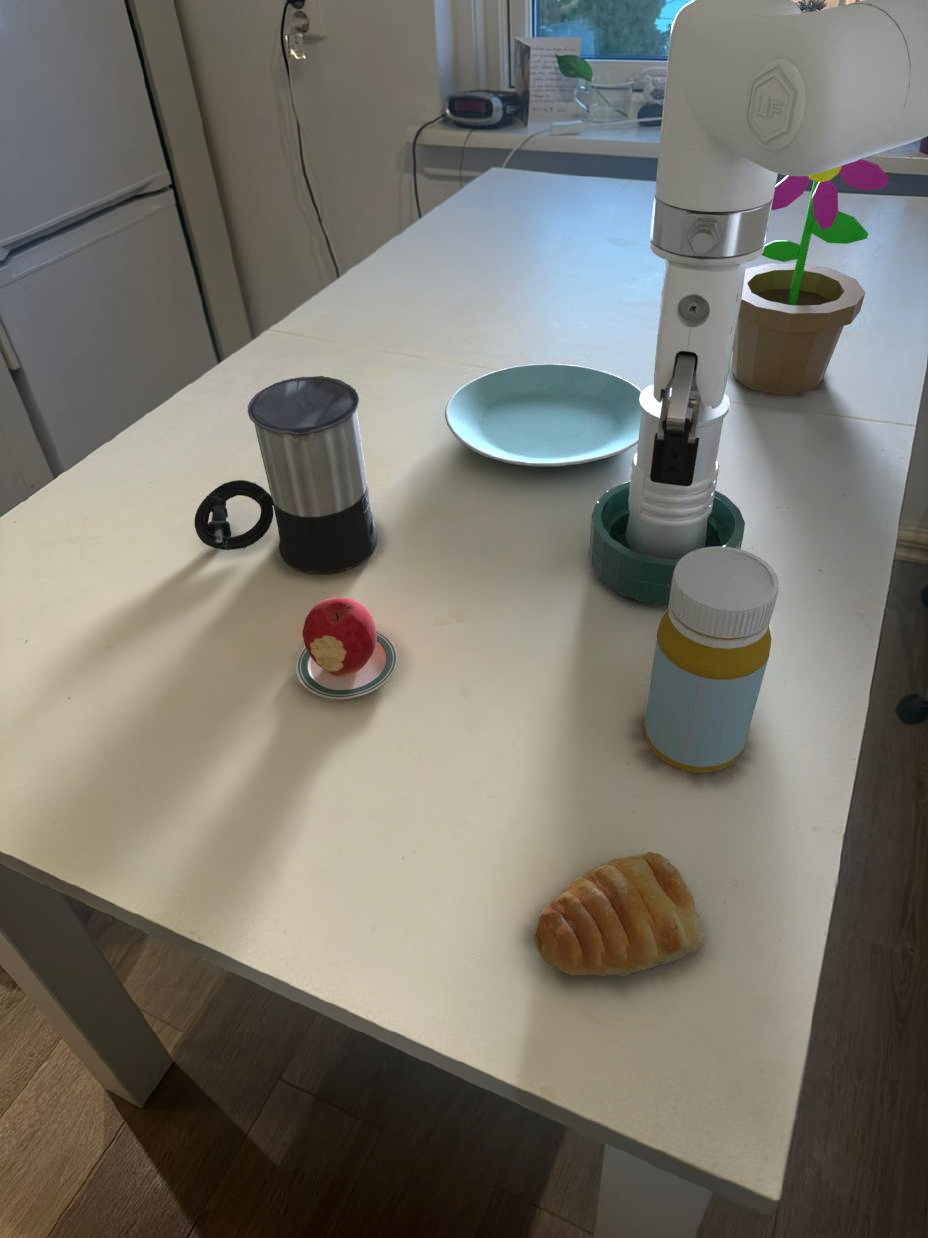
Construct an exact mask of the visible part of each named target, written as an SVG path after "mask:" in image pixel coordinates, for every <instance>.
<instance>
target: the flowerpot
mask: <svg viewBox="0 0 928 1238" xmlns="http://www.w3.org/2000/svg"><path fill="white" fill-rule="evenodd" d="M837 175H839V176H840V177H841V178H842V180H843V181H844V183H845V184H846V185H847V186H850V187H853V188H856V189H859V190H861V191H865V192H866V191H874V190H880V189H885V187H886V186H887V184H888V182H889V180H890V177H889V176H888V175H887V174H886V172H885V171H884V170H883V169H882V168H881V167H880V165H879V164H878V163H875V162H871V161H868V160H866V159H863V158H861V159H859V160H857V161H855V162H852V163H848V164H845V165H842V166H839V167H836V168H833V169H830V170H827V171H823V172H820V173H816V174H812V175H806V176H787V175H785V177H784V178H783V179H781V180H780V181H779V182H778V183H776V185H775V191H774V196H773V203H772V209H771V212H772V211H777V210H781V209H784V208H788V206H790V205H791V204H792V203H793V202H795V201H796V200H797V199H798V198H800V197H801V196H802V195H804V193H805V191H806V188H807V187H808V184H809V182H810V181H813V182H812V187H811V191H810V196H809V201H808V205H807V210H806V214H805V218H804V223H803V227H802V233H801V237H800V243H797V242H793V241H791V240H788V239H786V240H785V239H783V240H773V241H771V242H769V243H767V244H766V243H765V248H764V252H763V253H762V254H761V256H762V257H765V258H767V259H770V260H773V261H777V262H782V263H763V264H760V265H756V266H752V267H747V268H745V277H744V284H743V291H742V298H741V304H740V310H739V315H738V322H737V328H736V333H735V339H734V344H733V350H732V356H731V370H732V373H733V376H734V379H735V380H736V381H738V382H739V383H740V384H742V385H744V386H745V387H747V388H749V389H750V390H754V391H758V392H762V393H767V394H771V395H800V394H802V393H805V392H808V391H812V390H814V389H817V387H818V386H819V385H820V383H821V382H822V380H823V378H824V376H825V374H826V372H827V369H828V367H829V364H830V362H831V359H832V357H833V354H834V352H835V350H836V347H837V344H838V342H839V339H840V337H841V335H842V332H843V330H844V327H845V326H848V325H851V324H852V323H853V322H854V321H855V319H856V318H857V316H858V315H859V314H860V312H861V310H862V306H863V303H864V299H865V296H866V295H865V294H866V291H865V289H864V288H863V287H862V285H860V283H859V281H858V280H857V279H856V278H854V277H852V276H849V275H847V274H844V273H842V272H840V271H838V270H836V269H833V268H831V267H824V266H818V265H813V264H806V261H807V257H808V253H809V252H808V251H809V247H810V242H811V238H812V235H814V236H816V237H817V238H819V239H821V240H822V241H824V242H825V243H827V244H841V245H848V244H852V243H855V242H859V241H862V240H867V239H868V236H869V232H868V231H867V230H866V229H865V227H863V225H862V224H861V223H860V222H859V221H858V219H856V217H855V216H853V215H850V214H847V213H845V212H842V211H839V191H838V189H837V187H836V186H835V185H834V183H833V182H832V179H833V178H835V177H836V176H837ZM794 260H796V261H795V262H794V263H793V262H792V263H791V262H790V261H794Z"/></svg>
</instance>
